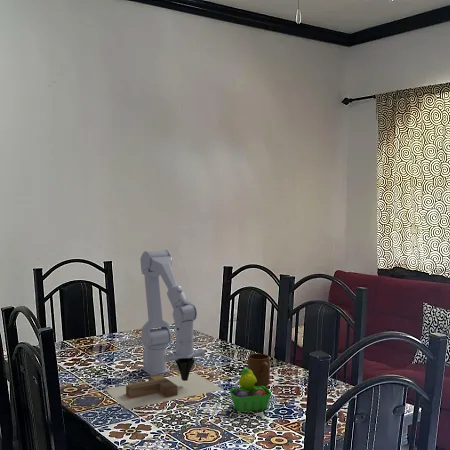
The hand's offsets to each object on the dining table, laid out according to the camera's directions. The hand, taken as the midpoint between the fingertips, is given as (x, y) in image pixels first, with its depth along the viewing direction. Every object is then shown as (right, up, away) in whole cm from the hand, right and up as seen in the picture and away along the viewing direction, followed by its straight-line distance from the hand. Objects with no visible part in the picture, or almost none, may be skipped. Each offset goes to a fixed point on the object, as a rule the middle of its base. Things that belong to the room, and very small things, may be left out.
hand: (184, 380), depth 192 cm
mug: (+26, -2, +1) cm, 26 cm away
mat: (-7, -3, -4) cm, 8 cm away
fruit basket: (+21, -3, -18) cm, 28 cm away
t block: (-11, -2, -7) cm, 13 cm away
